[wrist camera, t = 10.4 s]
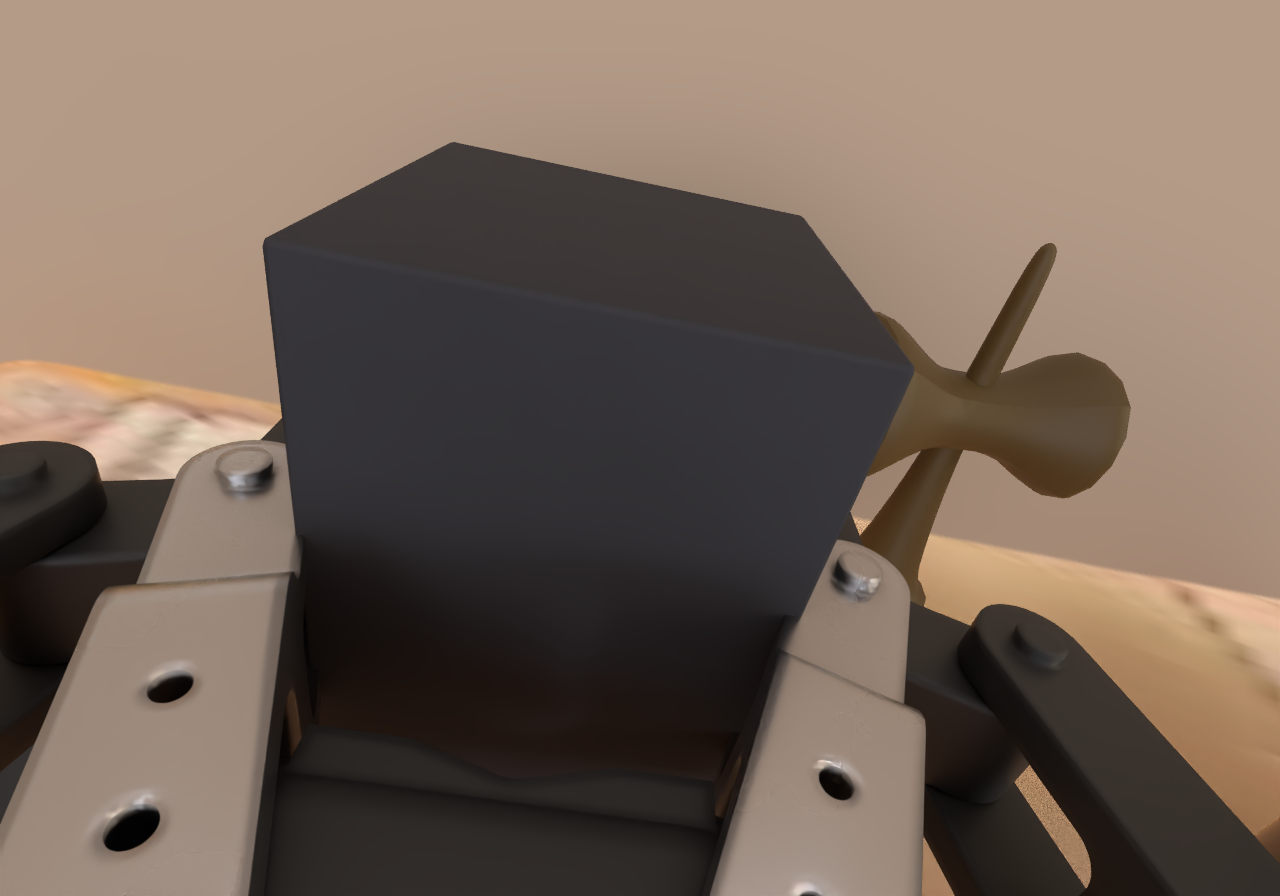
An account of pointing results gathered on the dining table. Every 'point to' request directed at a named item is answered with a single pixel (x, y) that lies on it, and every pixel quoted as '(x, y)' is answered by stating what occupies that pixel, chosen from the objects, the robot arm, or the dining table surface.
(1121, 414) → the kendama
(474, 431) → the post
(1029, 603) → the dining table surface
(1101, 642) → the dining table surface
